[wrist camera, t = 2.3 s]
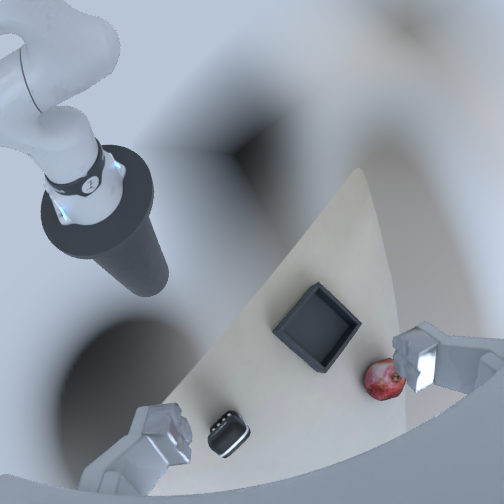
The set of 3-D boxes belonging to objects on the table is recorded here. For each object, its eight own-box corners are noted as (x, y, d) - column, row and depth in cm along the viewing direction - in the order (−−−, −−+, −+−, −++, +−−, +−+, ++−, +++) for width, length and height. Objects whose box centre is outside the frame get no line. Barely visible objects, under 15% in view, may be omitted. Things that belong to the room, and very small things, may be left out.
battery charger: (228, 404, 49) (235, 419, 38) (243, 416, 49) (254, 433, 38) (203, 428, 47) (204, 448, 36) (218, 440, 46) (223, 462, 36)
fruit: (391, 395, 54) (418, 399, 45) (356, 400, 53) (382, 407, 43) (393, 357, 57) (421, 356, 48) (359, 359, 56) (385, 360, 46)
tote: (271, 332, 55) (277, 330, 51) (311, 286, 59) (318, 281, 55) (317, 371, 54) (325, 373, 50) (352, 325, 58) (362, 323, 54)
